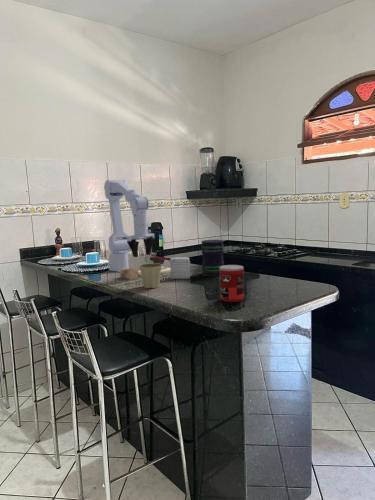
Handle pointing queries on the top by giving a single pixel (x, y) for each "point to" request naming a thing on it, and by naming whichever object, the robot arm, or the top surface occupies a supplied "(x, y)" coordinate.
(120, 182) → the robot arm
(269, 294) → the top surface
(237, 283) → the canned food
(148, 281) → the flower pot
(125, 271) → the block
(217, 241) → the storage jar
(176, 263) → the medicine box
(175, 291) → the top surface
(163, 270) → the board
